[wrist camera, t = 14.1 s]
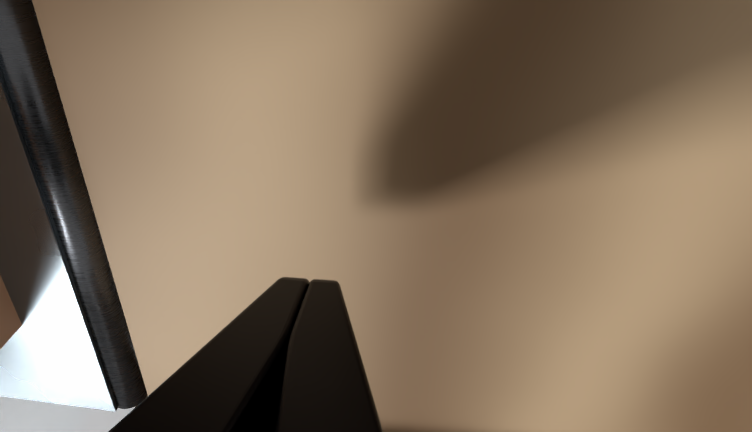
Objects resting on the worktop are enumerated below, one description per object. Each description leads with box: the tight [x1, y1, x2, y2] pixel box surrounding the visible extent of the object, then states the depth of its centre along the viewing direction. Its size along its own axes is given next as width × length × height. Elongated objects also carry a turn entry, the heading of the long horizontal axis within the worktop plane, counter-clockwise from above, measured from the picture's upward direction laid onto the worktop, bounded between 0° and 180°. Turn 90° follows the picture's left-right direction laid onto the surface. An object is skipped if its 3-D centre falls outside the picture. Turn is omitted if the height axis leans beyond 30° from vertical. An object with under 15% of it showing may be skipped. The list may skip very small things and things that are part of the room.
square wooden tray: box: [32, 0, 752, 432], centre depth 10 cm, size 14×14×3 cm
